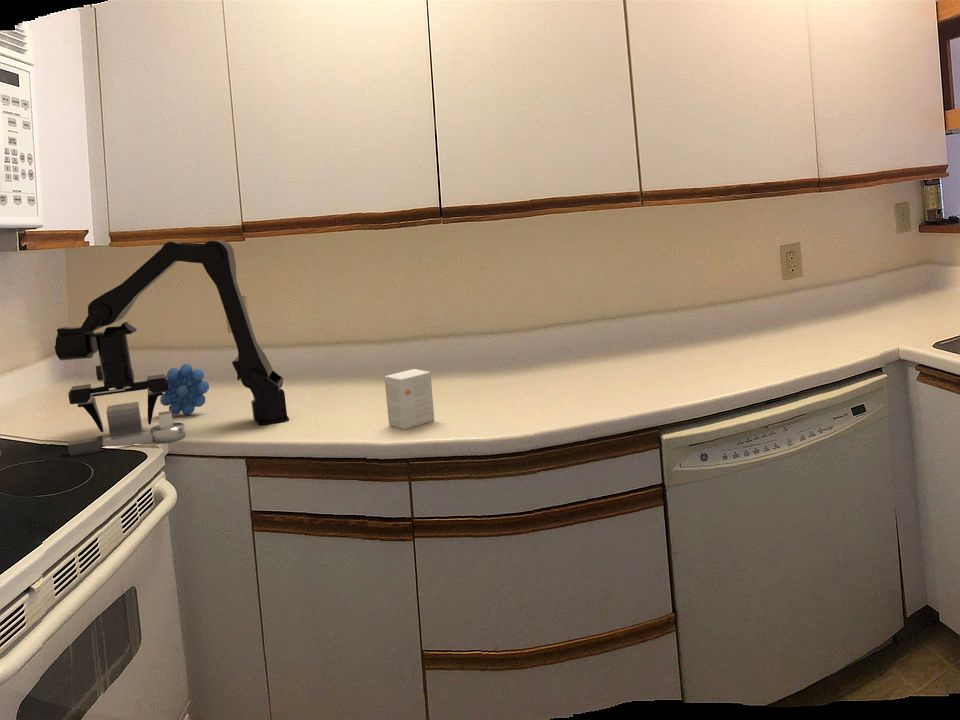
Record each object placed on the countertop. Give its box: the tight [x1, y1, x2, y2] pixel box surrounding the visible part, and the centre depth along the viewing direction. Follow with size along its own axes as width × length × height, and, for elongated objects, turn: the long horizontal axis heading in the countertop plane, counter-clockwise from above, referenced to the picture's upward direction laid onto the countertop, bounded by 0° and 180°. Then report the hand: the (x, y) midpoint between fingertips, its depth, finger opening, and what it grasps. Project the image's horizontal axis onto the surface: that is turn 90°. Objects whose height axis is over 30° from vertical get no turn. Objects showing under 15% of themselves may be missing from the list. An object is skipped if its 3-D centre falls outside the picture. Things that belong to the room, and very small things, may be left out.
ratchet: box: [67, 410, 186, 455], centre depth 148 cm, size 21×6×6 cm, turn 113°
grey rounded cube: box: [106, 401, 143, 437], centre depth 156 cm, size 6×6×6 cm
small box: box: [383, 368, 435, 430], centre depth 151 cm, size 8×6×10 cm
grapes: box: [159, 363, 210, 416], centre depth 169 cm, size 12×7×12 cm, turn 88°
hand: (126, 427), depth 157 cm, fingers open, 9 cm apart
